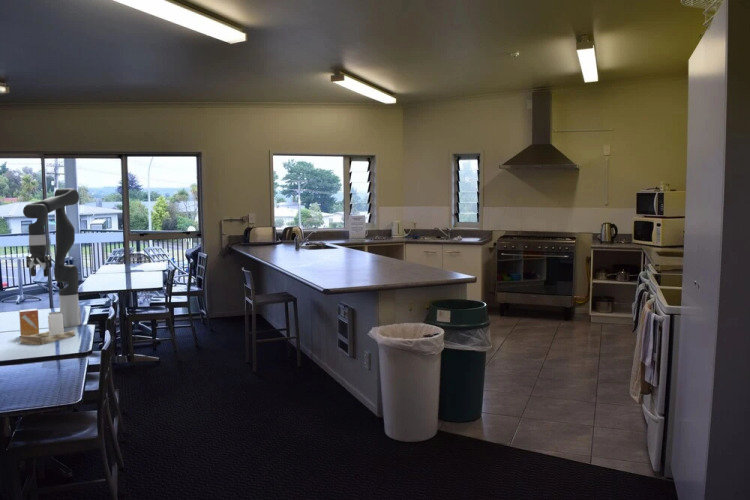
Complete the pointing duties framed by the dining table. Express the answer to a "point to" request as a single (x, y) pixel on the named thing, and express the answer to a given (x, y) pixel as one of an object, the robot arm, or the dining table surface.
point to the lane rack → (44, 337)
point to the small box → (29, 322)
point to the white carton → (55, 323)
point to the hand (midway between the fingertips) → (39, 276)
